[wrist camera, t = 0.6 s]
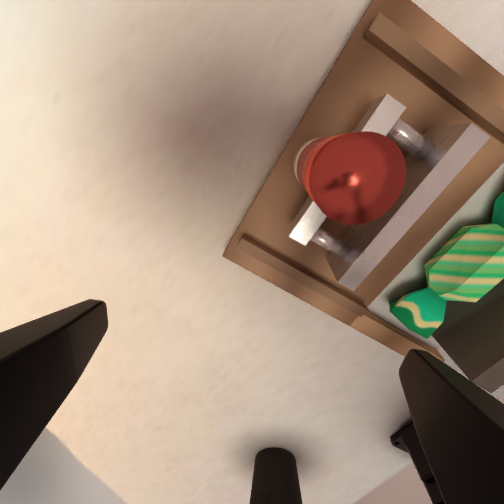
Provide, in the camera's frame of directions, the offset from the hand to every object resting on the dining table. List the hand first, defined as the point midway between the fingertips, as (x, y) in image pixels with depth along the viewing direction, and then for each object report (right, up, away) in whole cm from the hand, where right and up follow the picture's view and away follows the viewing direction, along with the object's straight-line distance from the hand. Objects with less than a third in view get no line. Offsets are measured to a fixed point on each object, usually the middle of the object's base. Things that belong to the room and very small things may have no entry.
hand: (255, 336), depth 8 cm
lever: (+6, +7, +9) cm, 13 cm away
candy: (+15, +2, +12) cm, 20 cm away
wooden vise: (+11, +5, +11) cm, 17 cm away
